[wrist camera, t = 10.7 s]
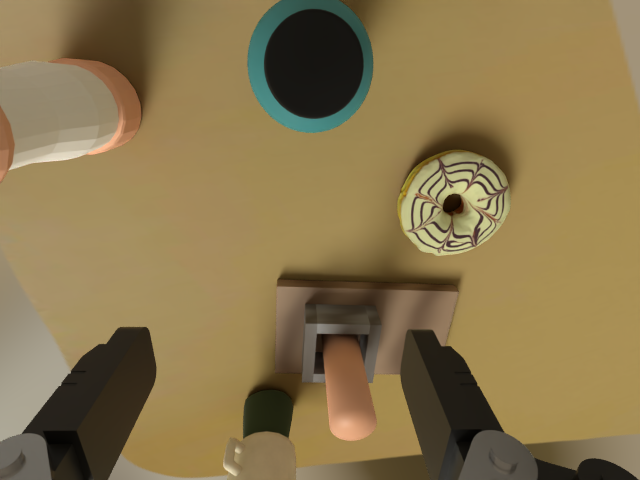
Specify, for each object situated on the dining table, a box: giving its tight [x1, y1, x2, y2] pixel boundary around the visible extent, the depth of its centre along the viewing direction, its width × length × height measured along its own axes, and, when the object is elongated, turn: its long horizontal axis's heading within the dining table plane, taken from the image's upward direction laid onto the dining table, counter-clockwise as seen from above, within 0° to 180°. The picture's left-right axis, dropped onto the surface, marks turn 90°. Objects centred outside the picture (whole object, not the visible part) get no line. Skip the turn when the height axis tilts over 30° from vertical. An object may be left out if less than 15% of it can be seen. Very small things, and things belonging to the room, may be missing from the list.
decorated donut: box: [397, 150, 511, 256], centre depth 36 cm, size 10×11×4 cm
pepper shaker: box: [0, 58, 142, 183], centre depth 24 cm, size 7×7×19 cm
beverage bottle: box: [248, 0, 373, 133], centre depth 23 cm, size 6×7×20 cm
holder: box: [275, 279, 459, 383], centre depth 41 cm, size 20×12×5 cm, turn 86°
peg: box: [321, 334, 377, 441], centre depth 36 cm, size 4×4×12 cm
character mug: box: [223, 390, 296, 480], centre depth 42 cm, size 11×7×13 cm, turn 38°
